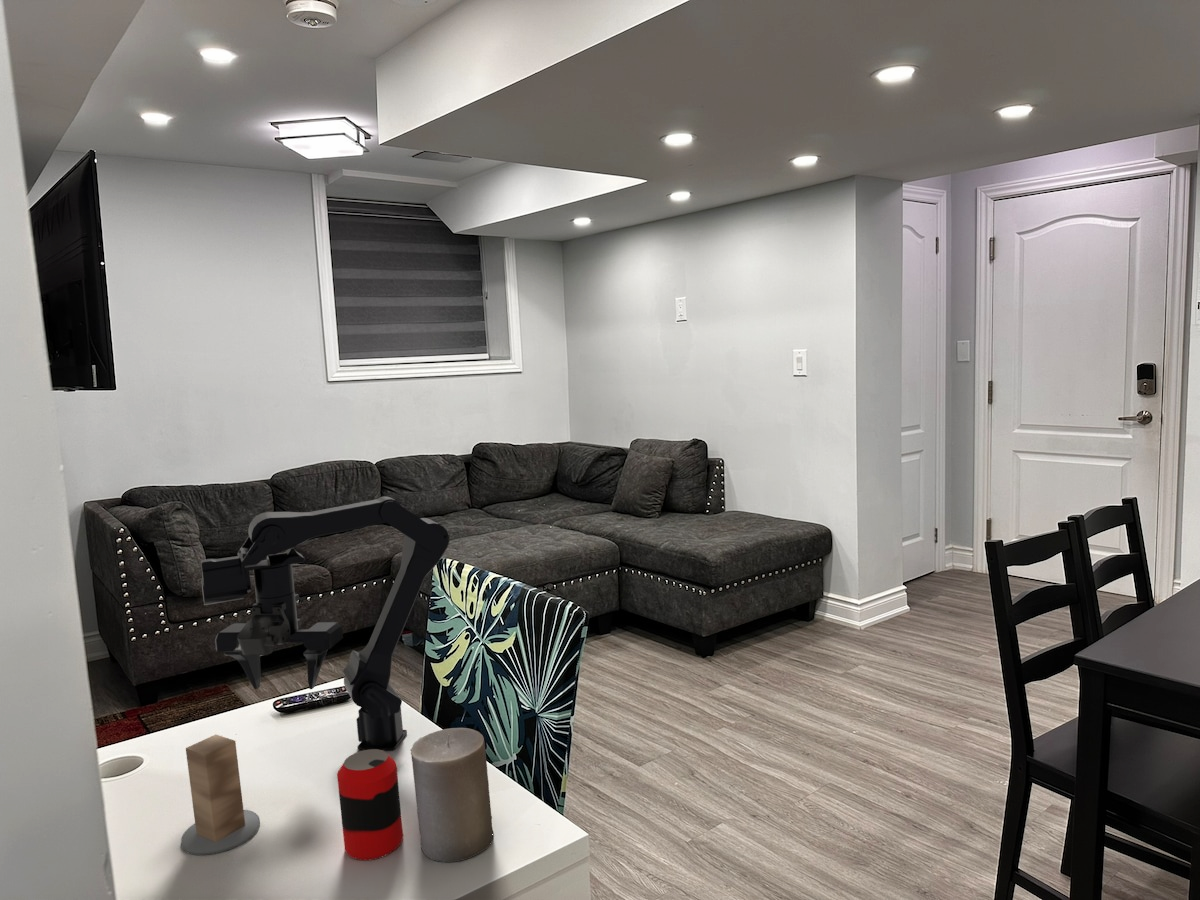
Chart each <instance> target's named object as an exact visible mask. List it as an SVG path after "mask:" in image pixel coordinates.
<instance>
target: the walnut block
mask: <svg viewBox="0 0 1200 900" xmlns="http://www.w3.org/2000/svg"><path fill="white" fill-rule="evenodd" d="M236 745H237V744H236V740H234V739H231V738H228V737H225V736H222V735H220V734H214V735H211V736H209V737H207V738H204V739H202V740H201V741H198V742H196V743H194V744H192V745H190V746H187V747H185V753H186V754H185V755H186V761H187V771H188V777H189V787H190V793H191V794H190V795H191V801H192V808H193V816H194V824H195V826H196V834H198V835H201V836H203V837H205V838H207V839H210V840H212V841H214V842H217V841H219V840H221V839H223V838H224V837H226V836H228V835H230V834H231V833H233V832H235V831H236V830H238V829H240V828H242V827H243V826H245V819H244V810H245V809H244V803H243V795H242V786H241V778H240V769H239V760H238V752H237V746H236Z"/></svg>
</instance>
